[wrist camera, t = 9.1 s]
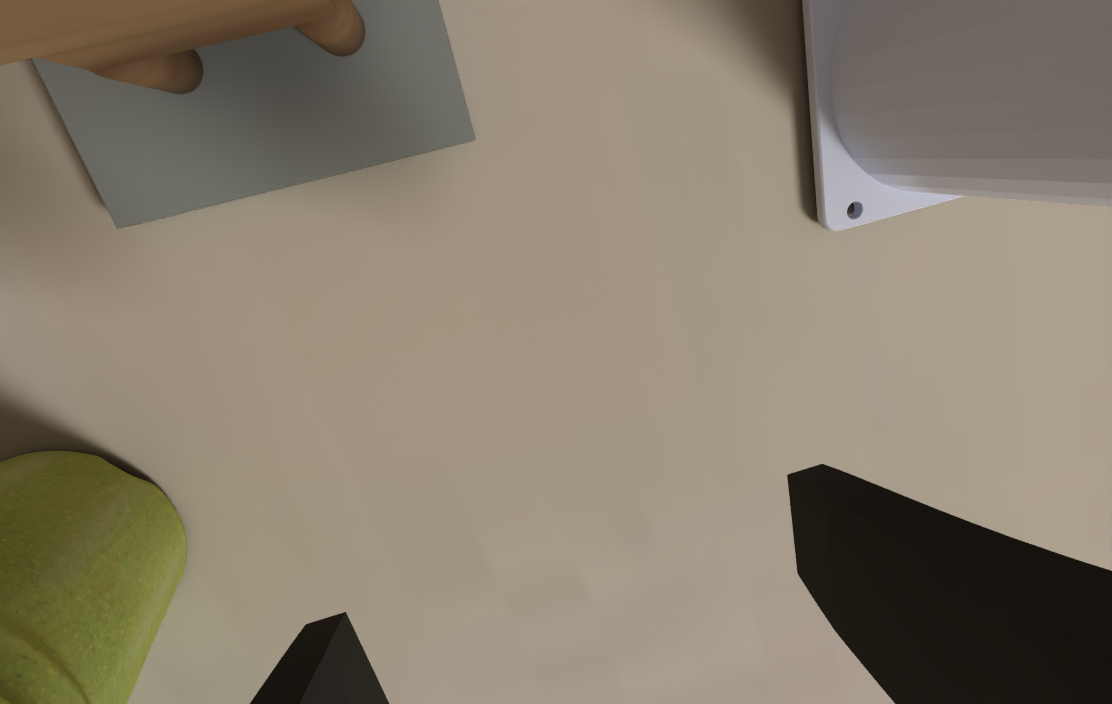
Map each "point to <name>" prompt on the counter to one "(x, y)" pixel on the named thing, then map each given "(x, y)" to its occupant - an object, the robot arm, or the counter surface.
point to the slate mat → (266, 114)
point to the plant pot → (81, 577)
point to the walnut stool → (162, 33)
